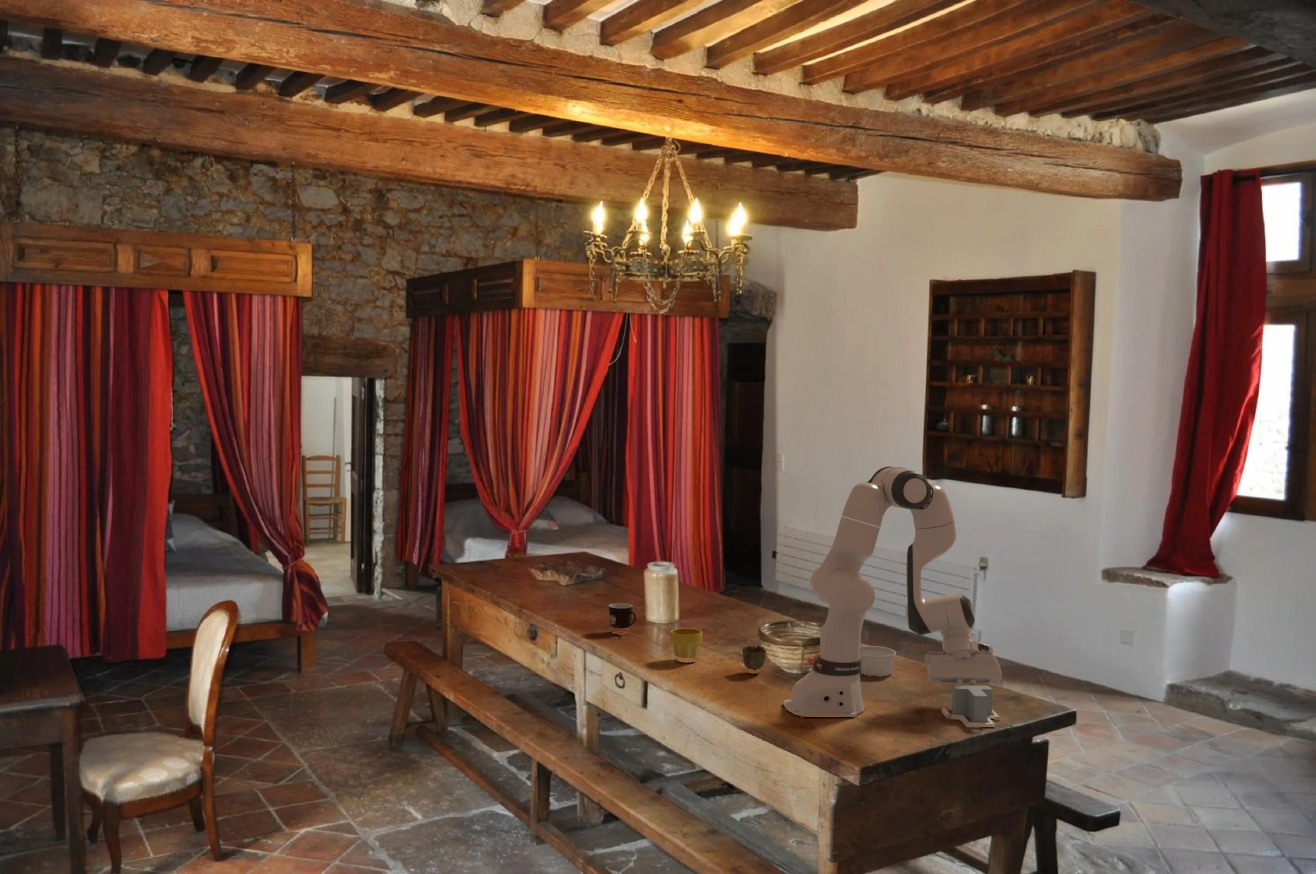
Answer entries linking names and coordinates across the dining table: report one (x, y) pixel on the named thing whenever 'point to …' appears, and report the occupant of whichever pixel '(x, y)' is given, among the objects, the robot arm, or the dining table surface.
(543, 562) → the dining table surface
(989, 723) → the t outline
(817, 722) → the dining table surface
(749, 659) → the cup
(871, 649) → the ramekin
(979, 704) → the t block
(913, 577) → the robot arm
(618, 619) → the coffee mug
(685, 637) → the plant pot
